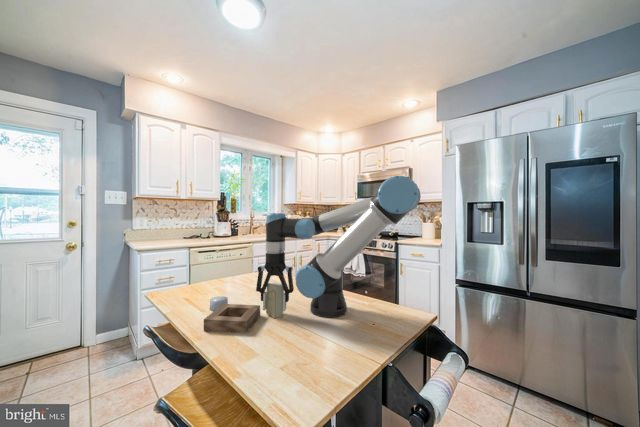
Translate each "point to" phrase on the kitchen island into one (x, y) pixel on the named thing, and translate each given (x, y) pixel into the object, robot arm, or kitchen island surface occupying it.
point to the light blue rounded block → (217, 302)
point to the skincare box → (274, 299)
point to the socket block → (232, 318)
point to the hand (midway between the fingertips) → (274, 309)
